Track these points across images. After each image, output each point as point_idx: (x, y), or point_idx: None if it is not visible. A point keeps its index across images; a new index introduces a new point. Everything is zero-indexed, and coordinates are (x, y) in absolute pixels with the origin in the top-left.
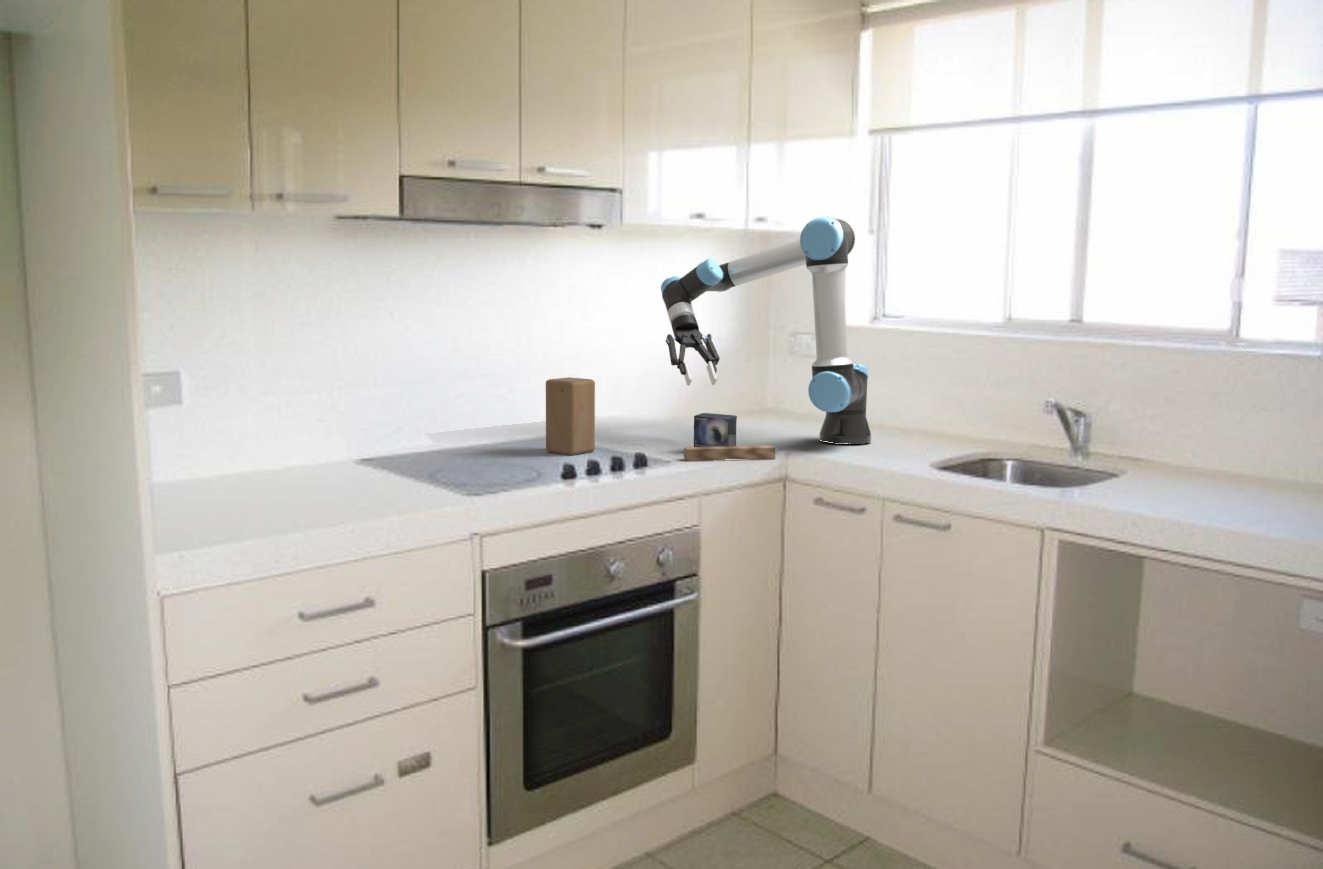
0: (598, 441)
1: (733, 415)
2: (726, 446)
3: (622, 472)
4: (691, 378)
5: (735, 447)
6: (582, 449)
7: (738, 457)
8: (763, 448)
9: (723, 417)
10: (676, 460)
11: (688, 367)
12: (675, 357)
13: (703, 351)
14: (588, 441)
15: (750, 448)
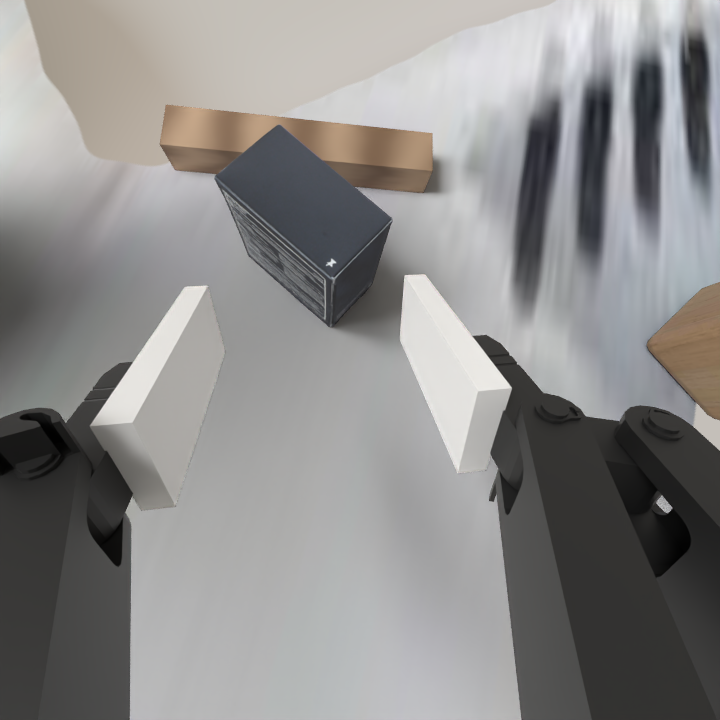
0: None
1: (228, 177)
2: None
3: (589, 69)
4: (409, 278)
5: None
6: (685, 306)
7: None
8: (205, 110)
9: (288, 145)
10: (447, 176)
11: (444, 337)
12: (671, 436)
13: (51, 718)
14: (690, 315)
15: (245, 113)
